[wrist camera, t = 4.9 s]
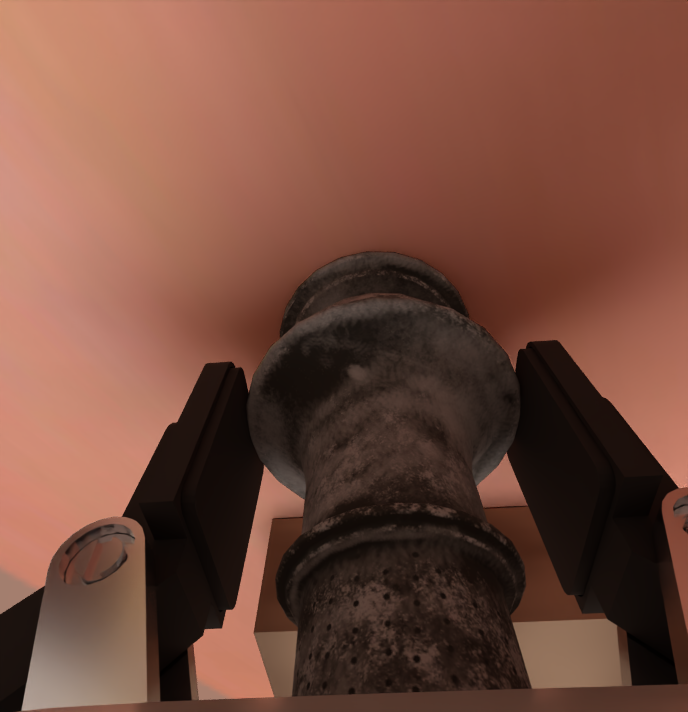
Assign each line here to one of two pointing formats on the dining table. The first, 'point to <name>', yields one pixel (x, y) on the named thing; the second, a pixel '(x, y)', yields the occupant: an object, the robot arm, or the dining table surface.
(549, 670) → the brown flat wooden block
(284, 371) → the salt shaker
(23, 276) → the dining table surface
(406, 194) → the dining table surface
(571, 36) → the dining table surface
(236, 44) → the dining table surface
